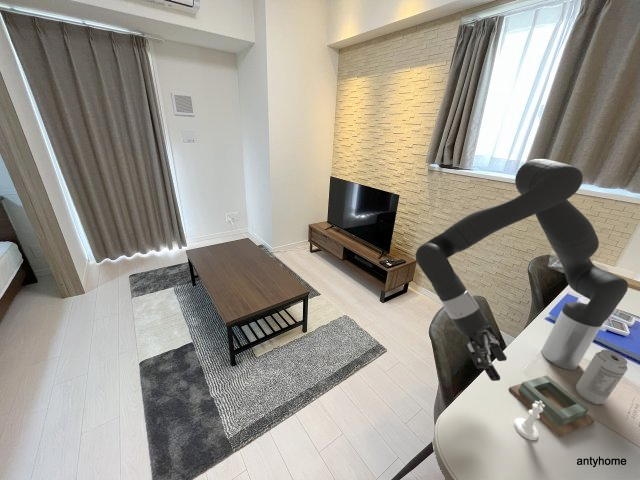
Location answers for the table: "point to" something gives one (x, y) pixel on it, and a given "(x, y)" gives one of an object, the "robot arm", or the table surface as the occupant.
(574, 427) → the socket board
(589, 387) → the energy drink can
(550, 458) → the table surface
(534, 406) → the chess piece
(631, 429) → the table surface
